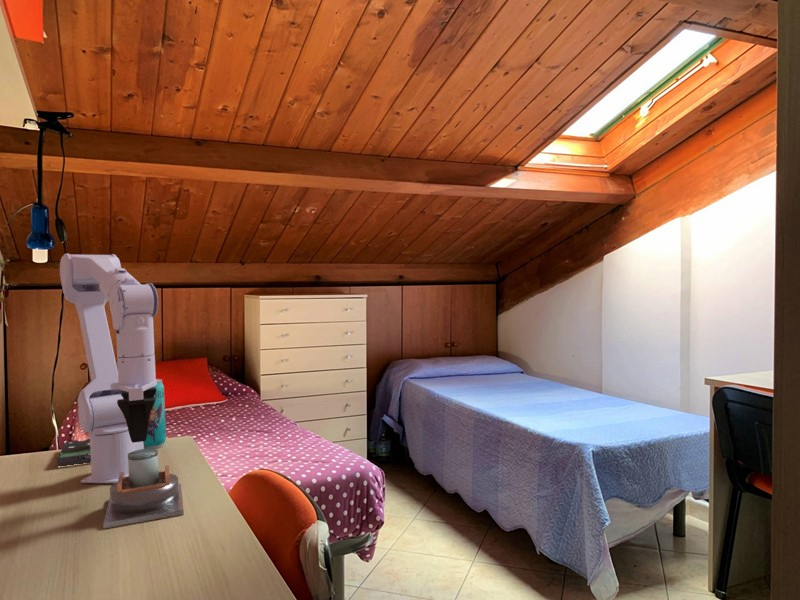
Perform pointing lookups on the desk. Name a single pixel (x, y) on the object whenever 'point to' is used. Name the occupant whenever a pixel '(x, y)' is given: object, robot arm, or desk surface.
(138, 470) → the cylinder
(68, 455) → the disk drive
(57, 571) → the desk surface
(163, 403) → the beverage can
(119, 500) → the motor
